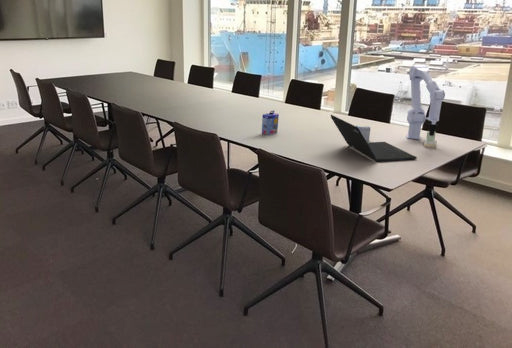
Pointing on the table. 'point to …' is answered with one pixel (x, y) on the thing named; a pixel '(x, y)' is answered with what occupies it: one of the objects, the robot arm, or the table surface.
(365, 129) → the medicine box
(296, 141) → the table surface
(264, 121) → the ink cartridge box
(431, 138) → the cube
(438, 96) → the robot arm
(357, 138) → the laptop
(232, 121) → the table surface
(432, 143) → the top slab
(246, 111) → the table surface
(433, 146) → the bottom slab
